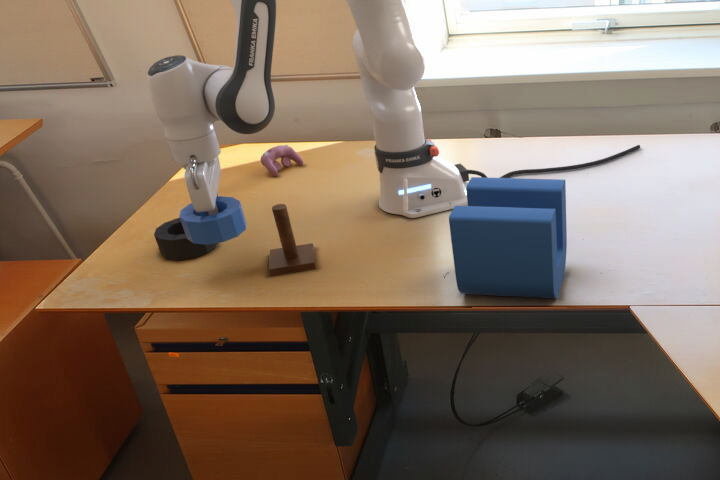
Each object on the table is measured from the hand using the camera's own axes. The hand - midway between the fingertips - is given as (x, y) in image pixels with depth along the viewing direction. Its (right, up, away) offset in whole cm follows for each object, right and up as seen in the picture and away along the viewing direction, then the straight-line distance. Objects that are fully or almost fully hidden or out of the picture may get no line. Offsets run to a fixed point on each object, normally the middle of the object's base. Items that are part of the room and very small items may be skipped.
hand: (216, 213), depth 156 cm
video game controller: (-2, +20, +47) cm, 51 cm away
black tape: (-11, -5, +13) cm, 18 cm away
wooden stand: (+14, -9, +5) cm, 17 cm away
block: (+60, -15, -5) cm, 62 cm away
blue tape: (+1, -4, -2) cm, 5 cm away
